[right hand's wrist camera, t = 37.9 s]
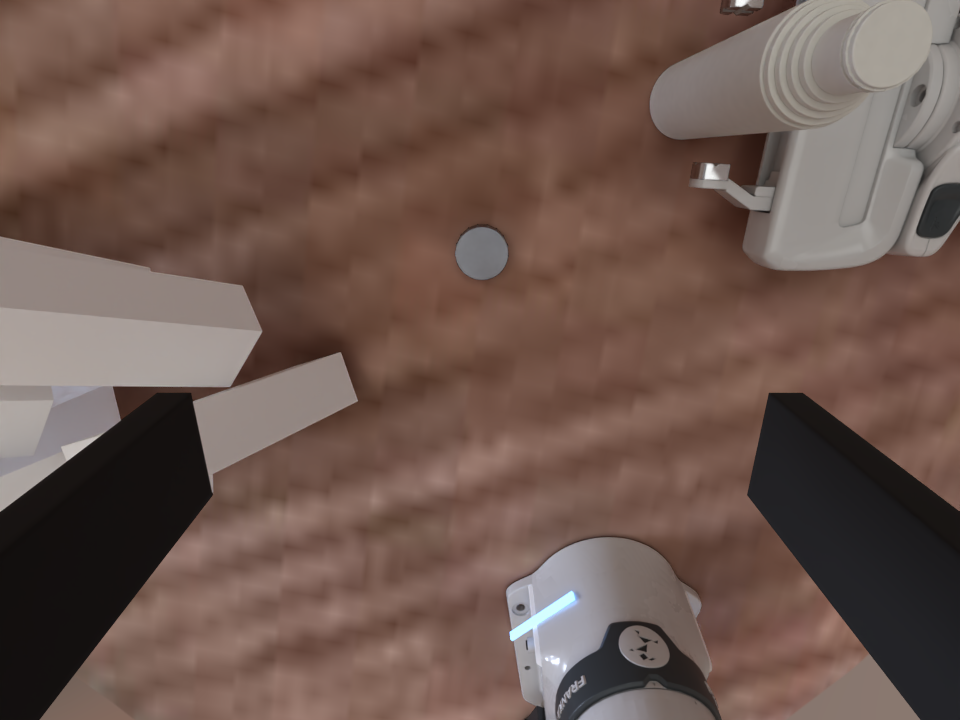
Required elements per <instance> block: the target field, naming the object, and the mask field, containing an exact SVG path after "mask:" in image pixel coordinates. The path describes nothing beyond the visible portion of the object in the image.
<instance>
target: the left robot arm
mask: <svg viewBox="0 0 960 720" xmlns="http://www.w3.org/2000/svg"><path fill="white" fill-rule="evenodd" d="M805 1H808V0H797V1H796V5H795V6H797V5H799V4H801V3H803V2H805ZM862 1H863V2H865V3H867V4H868V5H869V6H870V7H872V6H874V5H875V4H877V3H879V2H882V1H885V0H862ZM911 1H914V2H916V3H918V4H920V5H921V6H922V7H923V8H924V9H925V10H926V11H927V13H928V15H929V17H930V19H931V23H932V29H933V35H932V43H931V46H930V52H929V55H928V57H927V59H926V61H925V62H924V64H923V65H922V66H921V68H920V69H919V71H918V72H917V73H916V74H915V75H914V76H912V77H911V78H910V79H909V80H908V81H907V82H905V83H903V84H902V85H900V86H898V87H897V88H893V89H890V90H887V91H881V92H873V93H870V94H869V95H868V96H867V98H866V99H865V100H864V101H863V102H862V103H861V104H860V105H859V106H858V107H857V108H856V109H855V110H853V111H852V112H851V113H849V114H848V115H846V116H845V117H843V118H842V119H840V120H838V121H836V122H834V123H832V124H830V125H827V126H825V127H821V128H816V129H806V130H794V131H781V132H769V133H767V137H766V141H765V146H764V150H763V155H762V159H761V164H760V168H759V173H758V177H757V182H756V185H742V186H741V187H740V186H738V185H737V184H736V183H734V182H733V181H731V180H730V179H728V176H729V171H730V165H731V164H717V163H698V162H693V166H692V171H691V176H690V180H689V187H695V188H707V189H714V190H715V191H716V192H717V193H719V194H720V195H721V196H722V197H724V198H725V199H726V200H728V201H729V202H730V203H732V204H733V205H734V206H735V207H739V208H744V209H749V210H750V213H749V218H748V222H747V227H746V231H745V236H744V240H743V245H742V249H743V251H744V253H745V254H746V255H747V256H748V257H749V258H750V259H751V260H752V261H753V262H754V263H756V264H758V265H760V266H763V267H766V268H770V269H774V270H784V271H817V270H832V269H843V268H852V267H858V266H862V265H866V264H869V263H871V262H873V261H876V260H877V259H879V258H881V257H882V256H884V255H885V254H891V255H898V256H910V257H927V256H931V255H933V254H934V253H936V252H937V251H938V250H939V249H940V248H941V247H942V245H943V244H944V243H945V241H946V240H947V238H948V237H949V235H950V234H951V232H952V231H953V230H954V228H955V227H956V225H957V224H958V222H959V221H960V0H911ZM763 3H764V0H722V3H721V8H720V14H723V15H729V14H731V13H734V14H735V15H738V16H748V15H750V14H752V13H753V12H754V11H758V10H760V9H762V7H763ZM506 597H507V603H508V609H509V616H510V622H511V628H512V631H511V632H510V639H511V640H512V641H514V647H515V653H516V659H517V666H518V672H519V678H520V684H521V690H522V695H523V698H524V699H525V700H526V701H527V702H529V703H531V704H533V705H535V706H536V708H535V709H534V710H533V711H532V713H531V714H530V715H529V717H528V718H527V719H525V720H721V716H720V714H719V711H718V706H717V702H716V699H715V697H714V694H713V692H712V690H711V688H710V687H709V685H708V684H707V678H708V676H709V672H711V671H712V663H711V659H710V656H709V654H708V651H707V648H706V645H705V642H704V640H703V637H702V634H701V631H700V629H699V626H698V623H697V620H696V618H697V616H698V614H699V612H700V610H701V607H702V604H701V601H700V598H699V595H698V594H697V592H696V591H695V590H693V589H692V588H691V587H689V586H687V585H686V584H684V583H683V582H681V581H680V580H679V579H678V578H677V576H676V575H675V573H674V571H673V569H672V568H671V566H670V565H669V563H668V562H667V561H666V559H665V558H664V557H663V556H662V555H660V554H659V553H658V552H657V551H655V550H654V549H652V548H651V547H649V546H647V545H645V544H642V543H640V542H637V541H634V540H630V539H625V538H617V537H601V538H593V539H588V540H584V541H580V542H577V543H574V544H572V545H570V546H567V547H565V548H563V549H562V550H560V551H558V552H557V553H555V554H554V555H553V556H551V557H550V558H549V559H548V560H547V561H546V562H545V563H544V564H543V565H542V566H541V567H540V568H539V569H538V570H537V571H536V572H534V573H533V574H532V575H529V576H527V577H525V578H523V579H520V580H518V581H516V582H514V583H513V584H511V585H510V586H509V587H508V588H507V591H506ZM519 604H523V605H519Z"/></svg>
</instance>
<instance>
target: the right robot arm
mask: <svg viewBox="0 0 960 720" xmlns="http://www.w3.org/2000/svg"><path fill="white" fill-rule="evenodd" d="M212 495H213V494H212V489H211V484H210V480H209V475H208V470H207V466H206V461H205V456H204V452H203V447H202V442H201V438H200V433H199V428H198V424H197V419H196V414H195V409H194V405H193V400H192V395H191V393H157V394H155V395H154V396H153V397H151V398H150V399H149V400H147V401H146V402H145V403H143V404H142V405H141V406H139V407H138V408H137V409H135V410H134V411H133V412H131V413H130V414H129V415H127V416H126V417H125V418H124V419H122V420H121V421H120V422H118V423H117V424H116V425H114V426H113V427H112V428H110V429H109V430H108V431H106V432H105V433H104V434H102V435H101V436H100V437H98V438H97V439H96V440H94V441H93V442H92V443H90V444H89V445H88V446H87V447H85V448H84V449H83V450H81V451H80V452H79V453H77V454H76V455H75V456H73V457H72V458H71V459H69V460H68V461H67V462H65V463H64V464H63V465H61V466H60V467H59V468H57V469H56V470H55V471H53V472H52V473H51V474H50V475H48V476H47V477H46V478H44V479H43V480H42V481H40V482H39V483H38V484H36V485H35V486H34V487H32V488H31V489H30V490H28V491H27V492H26V493H24V494H23V495H22V496H20V497H19V498H18V499H16V500H15V501H14V502H13V503H11V504H10V505H9V506H7V507H6V508H5V509H3V510H2V511H1V512H0V720H40V718H41V717H42V716H43V714H44V713H45V712H46V711H47V709H48V708H49V707H50V705H51V704H52V703H53V702H54V700H55V699H56V698H57V696H58V695H59V694H60V692H61V691H62V690H63V688H64V687H65V686H66V685H67V683H68V682H69V681H70V679H71V678H72V677H73V676H74V674H75V673H76V672H77V670H78V669H79V668H80V667H81V665H82V664H83V663H84V661H85V660H86V659H87V657H88V656H89V655H90V654H91V652H92V651H93V650H94V648H95V647H96V646H97V644H98V643H99V642H100V641H101V639H102V638H103V637H104V635H105V634H106V633H107V632H108V630H109V629H110V628H111V626H112V625H113V624H114V622H115V621H116V620H117V619H118V617H119V616H120V615H121V613H122V612H123V611H124V609H125V608H126V607H127V606H128V604H129V603H130V602H131V600H132V599H133V598H134V597H135V595H136V594H137V593H138V591H139V590H140V589H141V587H142V586H143V585H144V584H145V582H146V581H147V580H148V578H149V577H150V576H151V574H152V573H153V572H154V571H155V569H156V568H157V567H158V565H159V564H160V563H161V562H162V560H163V559H164V558H165V556H166V555H167V554H168V552H169V551H170V550H171V549H172V547H173V546H174V545H175V543H176V542H177V541H178V539H179V538H180V537H181V536H182V534H183V533H184V532H185V530H186V529H187V528H188V527H189V525H190V524H191V523H192V521H193V520H194V519H195V517H196V516H197V515H198V514H199V512H200V511H201V510H202V508H203V507H204V506H205V504H206V503H207V502H208V501H209V499H210V498H211V497H212ZM747 495H748V497H749V498H750V499H751V501H752V502H753V503H754V504H755V506H756V507H757V508H758V510H759V511H760V512H761V514H762V515H763V516H764V517H765V519H766V520H767V521H768V523H769V524H770V525H771V527H772V528H773V529H774V530H775V532H776V533H777V534H778V536H779V537H780V538H781V539H782V541H783V542H784V543H785V545H786V546H787V547H788V549H789V550H790V551H791V552H792V554H793V555H794V556H795V558H796V559H797V560H798V562H799V563H800V564H801V565H802V567H803V568H804V569H805V571H806V572H807V573H808V574H809V576H810V577H811V578H812V580H813V581H814V582H815V584H816V585H817V586H818V587H819V589H820V590H821V591H822V593H823V594H824V595H825V597H826V598H827V599H828V600H829V602H830V603H831V604H832V606H833V607H834V608H835V609H836V611H837V612H838V613H839V615H840V616H841V617H842V619H843V620H844V621H845V622H846V624H847V625H848V626H849V628H850V629H851V630H852V632H853V633H854V634H855V635H856V637H857V638H858V639H859V641H860V642H861V643H862V644H863V646H864V647H865V648H866V650H867V651H868V652H869V654H870V655H871V656H872V657H873V659H874V660H875V661H876V663H877V664H878V665H879V666H880V668H881V669H882V670H883V672H884V673H885V674H886V676H887V677H888V678H889V679H890V681H891V682H892V683H893V685H894V686H895V687H896V689H897V690H898V691H899V692H900V694H901V695H902V696H903V698H904V699H905V700H906V701H907V703H908V704H909V705H910V707H911V708H912V709H913V711H914V712H915V713H916V714H917V716H918V717H919V718H920V720H960V511H958V510H957V509H955V508H954V507H953V506H951V505H950V504H949V503H947V502H946V501H945V500H944V499H942V498H941V497H940V496H938V495H937V494H936V493H934V492H933V491H932V490H930V489H929V488H928V487H926V486H925V485H924V484H922V483H921V482H920V481H918V480H917V479H916V478H914V477H913V476H912V475H910V474H909V473H908V472H907V471H905V470H904V469H903V468H901V467H900V466H899V465H897V464H896V463H895V462H893V461H892V460H891V459H889V458H888V457H887V456H885V455H884V454H883V453H881V452H880V451H879V450H877V449H876V448H875V447H873V446H872V445H871V444H870V443H868V442H867V441H866V440H864V439H863V438H862V437H860V436H859V435H858V434H856V433H855V432H854V431H852V430H851V429H850V428H848V427H847V426H846V425H844V424H843V423H842V422H840V421H839V420H838V419H836V418H835V417H834V416H833V415H831V414H830V413H829V412H827V411H826V410H825V409H823V408H822V407H821V406H819V405H818V404H817V403H815V402H814V401H813V400H811V399H810V398H809V397H807V396H806V395H805V394H803V393H769V395H768V400H767V405H766V409H765V414H764V419H763V424H762V428H761V433H760V438H759V442H758V447H757V452H756V456H755V461H754V466H753V470H752V475H751V480H750V484H749V489H748V494H747Z"/></svg>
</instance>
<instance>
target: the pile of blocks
mask: <svg viewBox="0 0 960 720" xmlns="http://www.w3.org/2000/svg"><path fill="white" fill-rule="evenodd" d="M261 333H262V329H261V327H260V324H259V322H258V320H257V317H256V315H255V313H254V311H253V308H252V306H251V304H250V301H249V299H248V297H247V294H246V292H245V290H244V288H243V286H242V285H236V284H229V283H223V282H216V281H210V280H203V279H197V278H190V277H184V276H177V275H171V274H164V273H158V272H152V271H151V269H150V268H149V267H144V266H139V265H135V264H130V263H125V262H120V261H115V260H111V259H106V258H101V257H96V256H91V255H87V254H82V253H77V252H72V251H67V250H63V249H58V248H53V247H48V246H43V245H39V244H34V243H29V242H24V241H19V240H15V239H10V238H5V237H0V512H1V511H2V510H3V509H5V508H6V507H7V506H9V505H10V504H11V503H13V502H14V501H15V500H16V499H18V498H19V497H20V496H22V495H23V494H24V493H26V492H27V491H28V490H30V489H31V488H32V487H34V486H35V485H36V484H38V483H39V482H40V481H42V480H43V479H44V478H46V477H47V476H48V475H50V474H51V473H52V472H53V471H55V470H56V469H57V468H59V467H60V466H61V465H63V464H64V463H65V462H67V461H68V460H69V459H71V458H72V457H73V456H75V455H76V454H77V453H79V452H80V451H81V450H83V449H84V448H85V447H87V446H88V445H89V444H90V443H92V442H93V441H94V440H96V439H97V438H98V437H100V436H101V435H102V434H104V433H105V432H106V431H108V430H109V429H110V428H112V427H113V426H114V425H116V424H117V423H118V422H120V421H121V419H120V415H119V411H118V407H117V403H116V398H115V394H114V390H113V386H147V387H231V385H232V383H233V381H234V380H235V378H236V376H237V375H238V373H239V371H240V369H241V368H242V366H243V364H244V363H245V361H246V359H247V357H248V356H249V354H250V352H251V350H252V349H253V347H254V345H255V344H256V342H257V340H258V338H259V337H260V335H261ZM357 401H358V400H357V397H356V394H355V391H354V388H353V385H352V383H351V380H350V377H349V374H348V371H347V368H346V365H345V362H344V360H343V357H342V354H341V352H339V353H336V354H333V355H329V356H326V357H323V358H319V359H316V360H313V361H310V362H306V363H303V364H300V365H296V366H293V367H290V368H287V369H285V370H282V371H279V372H276V373H273V374H270V375H267V376H264V377H261V378H258V379H256V380H253V381H250V382H247V383H244V384H241V385H238V386H235V387H232V388H230V389H227V390H224V391H221V392H218V393H215V394H212V395H209V396H206V397H204V398H201V399H198V400H195V401H193V405H194V409H195V414H196V419H197V424H198V428H199V433H200V438H201V442H202V447H203V452H204V456H205V461H206V466H207V470H208V475H209V480H210V484H211V489H212V493H213V474H214V473H216V472H218V471H220V470H222V469H224V468H226V467H228V466H230V465H232V464H234V463H236V462H238V461H240V460H242V459H244V458H246V457H248V456H250V455H252V454H254V453H256V452H258V451H260V450H262V449H264V448H266V447H268V446H270V445H272V444H274V443H276V442H278V441H280V440H282V439H284V438H286V437H288V436H290V435H292V434H294V433H296V432H298V431H300V430H302V429H304V428H306V427H308V426H310V425H312V424H314V423H316V422H317V421H319V420H321V419H323V418H325V417H327V416H329V415H331V414H333V413H335V412H337V411H339V410H341V409H343V408H345V407H347V406H349V405H351V404H353V403H355V402H357Z"/></svg>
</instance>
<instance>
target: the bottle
mask: <svg viewBox="0 0 960 720" xmlns="http://www.w3.org/2000/svg"><path fill="white" fill-rule="evenodd" d="M932 35H933V29H932V23H931V19H930V17H929V15H928V13H927V11H926V10H925V9H924V8H923V7H922V6H921V5H920V4H918V3H916V2H914V1H911V0H885V1H882V2H879V3H877V4H875V5H874V6H872V7H870V6H869V5H868V4H867V3H865V2H863V1H862V0H808V1H805V2H803V3H801V4H799V5H797V6H795V7H793V8H791V9H789V10H787V11H784V12H782V13H780V14H778V15H776V16H774V17H772V18H770V19H768V20H766V21H764V22H761V23H759V24H757V25H755V26H753V27H751V28H749V29H747V30H745V31H743V32H741V33H738V34H736V35H734V36H732V37H730V38H728V39H726V40H724V41H722V42H720V43H718V44H715V45H713V46H711V47H709V48H707V49H705V50H703V51H701V52H699V53H697V54H695V55H692V56H690V57H688V58H686V59H684V60H682V61H680V62H678V63H676V64H674V65H672V66H670V67H669V68H668V69H666V70H665V71H664V72H663V73H662V74H661V76H660V77H659V78H658V80H657V81H656V83H655V85H654V87H653V90H652V92H651V96H650V114H651V117H652V120H653V122H654V124H655V126H656V127H657V129H658V130H659V131H660V132H661V133H663V134H664V135H666V136H667V137H670V138H673V139H677V140H685V139H697V138H709V137H721V136H733V135H745V134H757V133H769V132H781V131H794V130H806V129H816V128H821V127H825V126H827V125H830V124H832V123H834V122H836V121H838V120H840V119H842V118H843V117H845V116H846V115H848V114H849V113H851V112H852V111H853V110H855V109H856V108H857V107H858V106H859V105H860V104H861V103H862V102H863V101H864V100H865V99H866V98H867V96H868V95H869V94H870V93H873V92H881V91H887V90H890V89H893V88H897V87H898V86H900V85H902V84H903V83H905V82H907V81H908V80H909V79H910V78H911V77H912V76H914V75H915V74H916V73H917V72H918V71H919V69H920V68H921V66H922V65H923V64H924V62H925V61H926V59H927V57H928V55H929V52H930V46H931V43H932Z"/></svg>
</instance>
